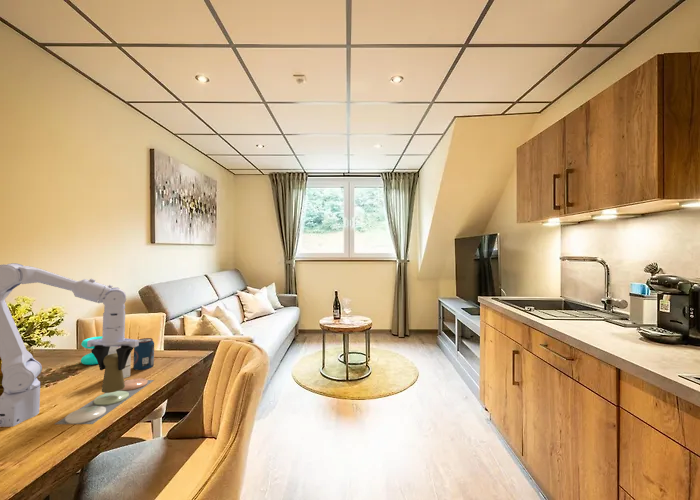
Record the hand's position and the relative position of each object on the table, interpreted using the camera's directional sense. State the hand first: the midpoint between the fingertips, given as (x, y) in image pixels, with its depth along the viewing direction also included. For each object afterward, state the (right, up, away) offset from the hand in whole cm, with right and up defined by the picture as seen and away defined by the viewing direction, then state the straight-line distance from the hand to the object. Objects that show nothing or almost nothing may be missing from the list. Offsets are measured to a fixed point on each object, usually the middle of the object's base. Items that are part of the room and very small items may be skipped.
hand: (112, 369), depth 102 cm
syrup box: (-11, -11, +17) cm, 23 cm away
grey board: (0, -10, 0) cm, 10 cm away
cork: (0, -7, +1) cm, 7 cm away
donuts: (-34, -10, +36) cm, 50 cm away
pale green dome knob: (0, -9, 0) cm, 9 cm away
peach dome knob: (-1, -10, +10) cm, 14 cm away
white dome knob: (0, -9, -11) cm, 14 cm away
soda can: (-8, -11, +28) cm, 31 cm away
